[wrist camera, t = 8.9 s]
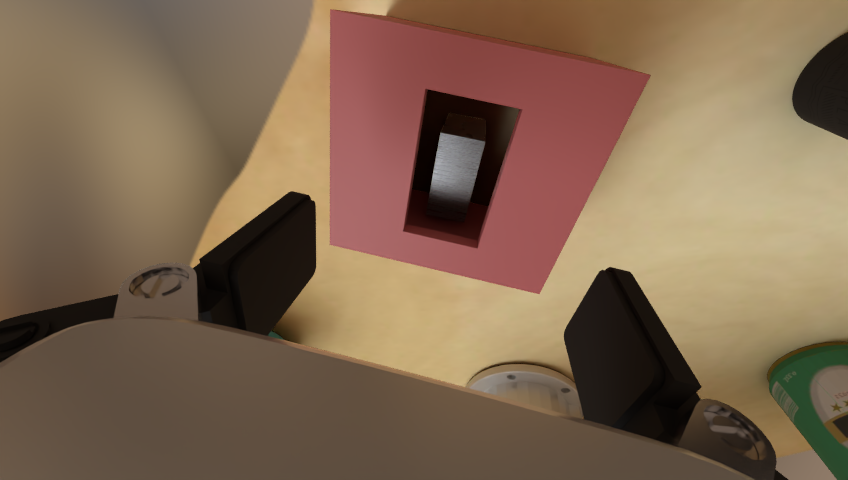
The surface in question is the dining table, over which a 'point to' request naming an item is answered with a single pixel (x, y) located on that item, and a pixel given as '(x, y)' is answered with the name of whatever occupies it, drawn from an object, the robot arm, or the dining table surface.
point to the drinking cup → (825, 89)
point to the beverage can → (816, 399)
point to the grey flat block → (456, 166)
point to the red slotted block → (523, 163)
